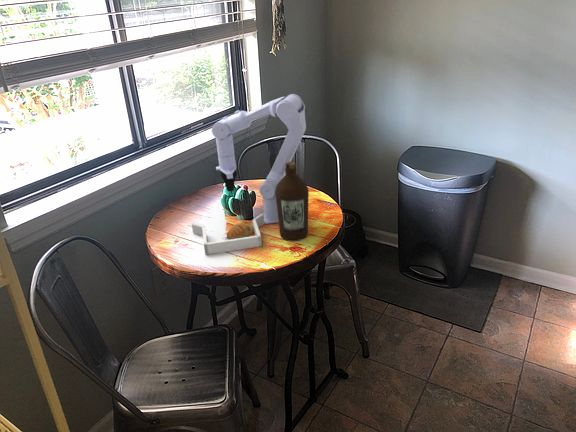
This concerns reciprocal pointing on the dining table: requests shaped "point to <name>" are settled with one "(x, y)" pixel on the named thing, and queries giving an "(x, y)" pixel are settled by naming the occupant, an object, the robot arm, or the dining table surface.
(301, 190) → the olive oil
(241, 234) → the pastry
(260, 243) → the box
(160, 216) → the dining table surface
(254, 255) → the dining table surface
